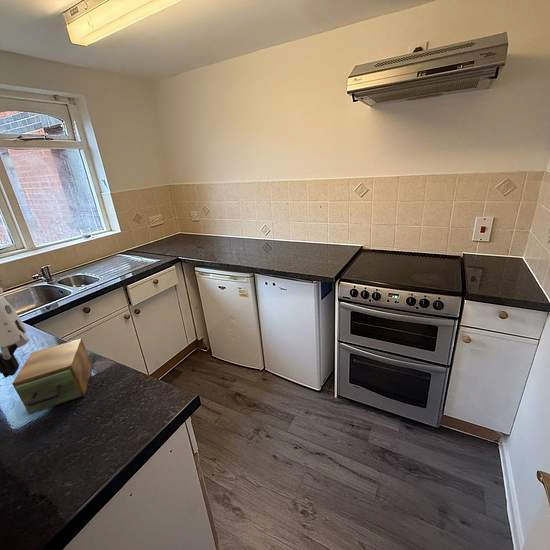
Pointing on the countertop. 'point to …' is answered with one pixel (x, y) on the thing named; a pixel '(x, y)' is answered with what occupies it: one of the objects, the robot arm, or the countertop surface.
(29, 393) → the drawer
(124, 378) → the countertop surface
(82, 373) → the cabinet
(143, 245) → the countertop surface
